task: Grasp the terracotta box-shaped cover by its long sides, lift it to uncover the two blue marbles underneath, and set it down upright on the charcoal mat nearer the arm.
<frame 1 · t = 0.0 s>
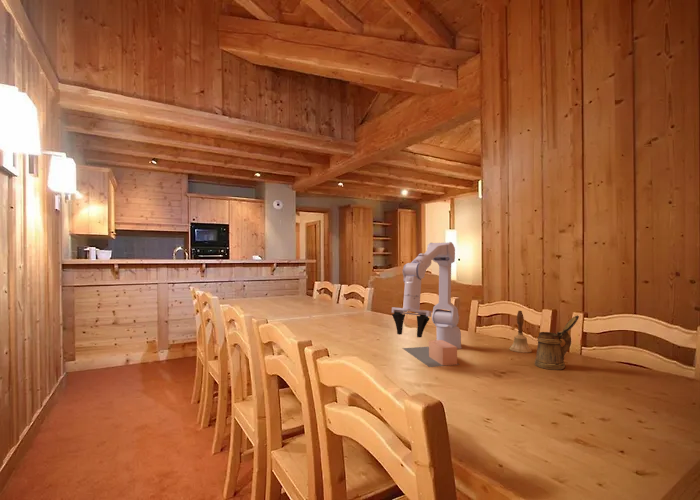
hand: (409, 335, 122), 11 cm above the table, tool pointing down, fingers open, 7 cm apart
blue marble 1: (439, 358, 130), resting on charcoal mat
blue marble 2: (445, 362, 125), resting on charcoal mat
wooden mug: (556, 367, 121), on the table
hand bell: (520, 350, 143), on the table
charcoal mat: (428, 357, 133), on the table
terracotta cover: (442, 360, 127), resting on charcoal mat
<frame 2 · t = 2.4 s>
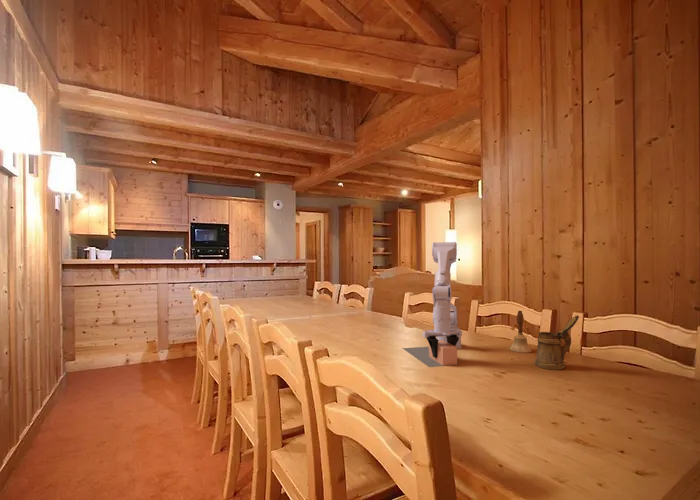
hand: (442, 356, 127), 2 cm above the table, tool pointing down, fingers closed on terracotta cover, 5 cm apart
terracotta cover: (442, 360, 127), point 1 cm above the table, touching charcoal mat, gripper
everything else where it was.
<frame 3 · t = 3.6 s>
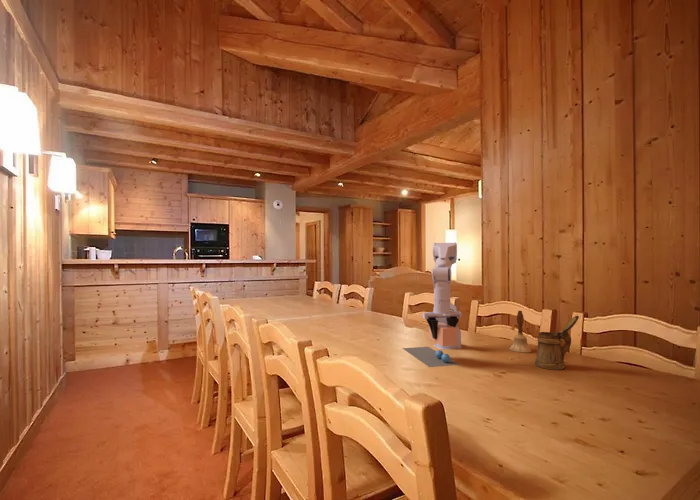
hand: (442, 337, 128), 9 cm above the table, tool pointing down, fingers closed on terracotta cover, 5 cm apart
terracotta cover: (442, 342, 128), point 7 cm above the table, touching gripper
everything else where it was.
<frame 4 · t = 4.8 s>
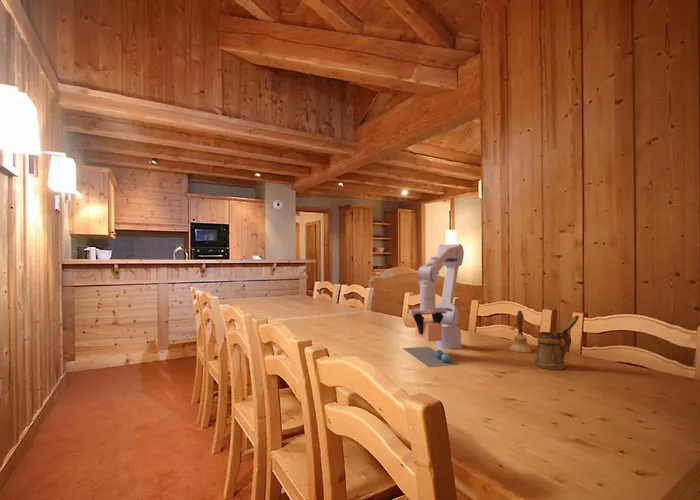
hand: (428, 333, 134), 9 cm above the table, tool pointing down, fingers closed on terracotta cover, 5 cm apart
terracotta cover: (428, 337, 134), point 7 cm above the table, touching gripper
everything else where it was.
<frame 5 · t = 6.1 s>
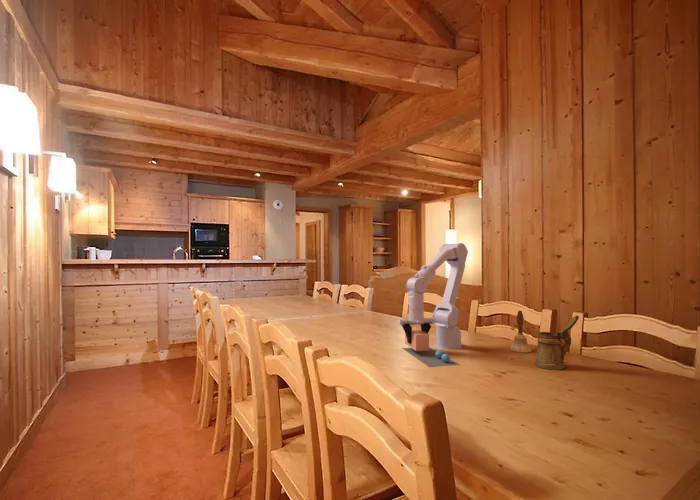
hand: (416, 342, 139), 4 cm above the table, tool pointing down, fingers closed on terracotta cover, 5 cm apart
terracotta cover: (416, 346, 139), point 3 cm above the table, touching gripper
everything else where it was.
when the fingers open (3 cm above the table, at t = 7.2 s): terracotta cover drops 1 cm, resting on charcoal mat.
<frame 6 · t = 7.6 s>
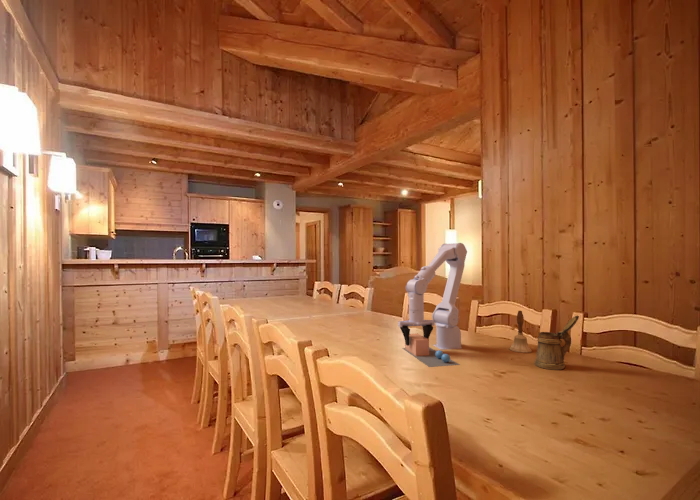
hand: (416, 344, 139), 3 cm above the table, tool pointing down, fingers open, 7 cm apart
terracotta cover: (416, 351, 139), resting on charcoal mat
everything else where it was.
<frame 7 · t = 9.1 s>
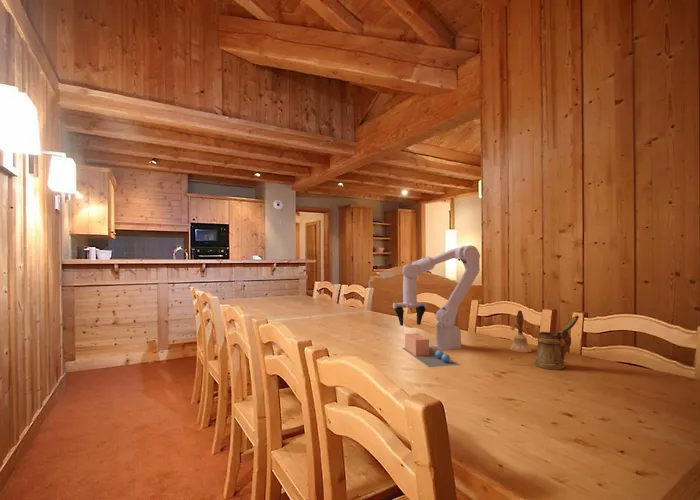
hand: (410, 324, 148), 9 cm above the table, tool pointing down, fingers open, 7 cm apart
nothing on the table moved.
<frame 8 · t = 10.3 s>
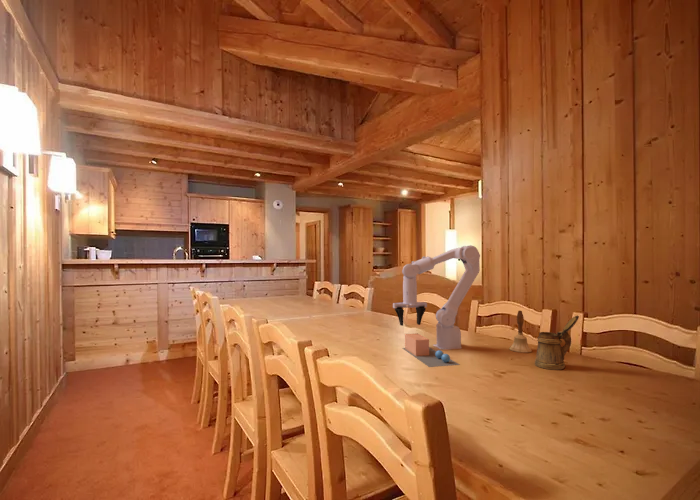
hand: (410, 324, 148), 9 cm above the table, tool pointing down, fingers open, 7 cm apart
nothing on the table moved.
at the end: terracotta cover 0.2 cm from the target spot, point 0.5 cm above the table; terracotta cover tilted 0°; terracotta cover touching charcoal mat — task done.
